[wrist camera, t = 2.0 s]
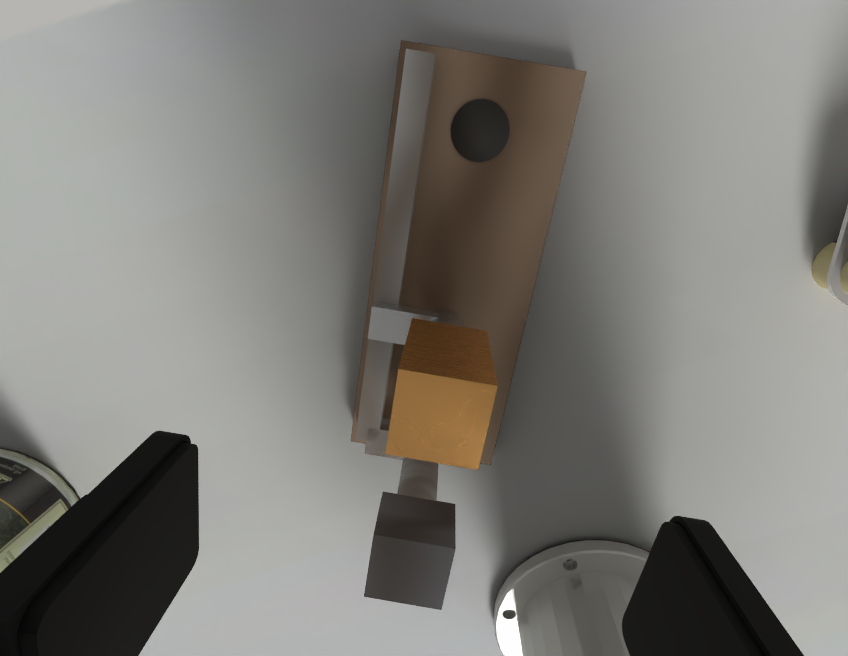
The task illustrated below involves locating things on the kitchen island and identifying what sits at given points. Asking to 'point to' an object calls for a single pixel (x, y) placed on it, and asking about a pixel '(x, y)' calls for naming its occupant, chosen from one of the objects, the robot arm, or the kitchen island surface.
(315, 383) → the kitchen island surface
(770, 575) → the kitchen island surface
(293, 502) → the kitchen island surface
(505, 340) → the brown wooden stand
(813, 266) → the stacked layers on plate
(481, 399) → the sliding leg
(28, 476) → the coffee can
